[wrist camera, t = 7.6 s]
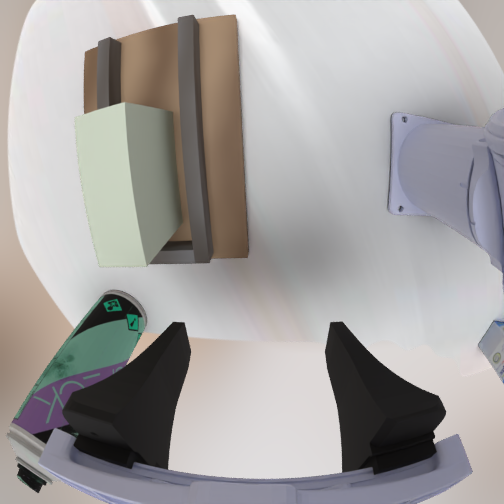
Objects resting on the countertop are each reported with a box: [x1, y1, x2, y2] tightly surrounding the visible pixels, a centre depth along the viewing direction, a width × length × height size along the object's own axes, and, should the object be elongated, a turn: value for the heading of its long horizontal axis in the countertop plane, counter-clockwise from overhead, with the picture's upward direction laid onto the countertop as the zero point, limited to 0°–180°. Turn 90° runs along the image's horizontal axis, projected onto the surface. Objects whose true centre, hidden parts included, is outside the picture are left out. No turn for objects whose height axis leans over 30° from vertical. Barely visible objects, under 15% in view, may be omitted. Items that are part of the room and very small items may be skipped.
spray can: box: [6, 290, 147, 493], centre depth 15 cm, size 6×6×20 cm
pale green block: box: [75, 102, 183, 267], centre depth 15 cm, size 3×8×7 cm, turn 2°
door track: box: [84, 15, 249, 264], centre depth 17 cm, size 12×18×3 cm, turn 3°
